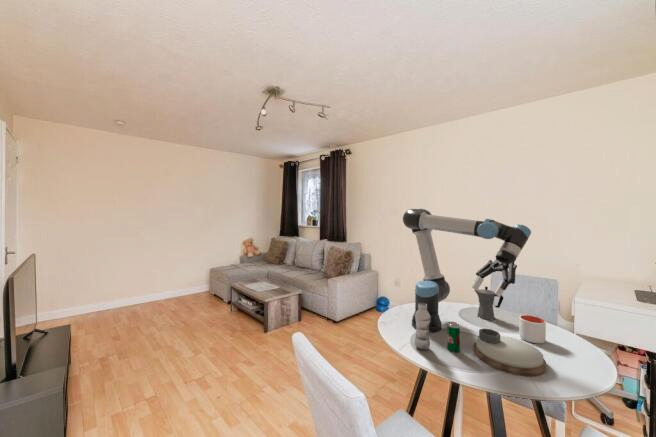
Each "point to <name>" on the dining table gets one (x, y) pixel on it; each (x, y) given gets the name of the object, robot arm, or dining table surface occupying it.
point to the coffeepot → (487, 303)
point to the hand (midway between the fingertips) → (485, 292)
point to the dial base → (511, 369)
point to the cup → (532, 329)
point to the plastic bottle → (422, 327)
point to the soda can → (453, 337)
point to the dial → (508, 350)
